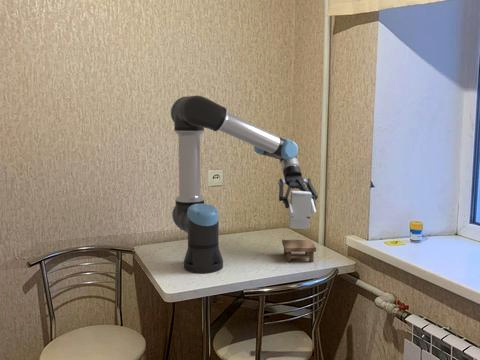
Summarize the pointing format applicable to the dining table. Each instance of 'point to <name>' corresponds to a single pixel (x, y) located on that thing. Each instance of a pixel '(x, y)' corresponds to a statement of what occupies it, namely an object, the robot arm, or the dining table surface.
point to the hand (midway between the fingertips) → (302, 213)
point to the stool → (299, 249)
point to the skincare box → (300, 209)
